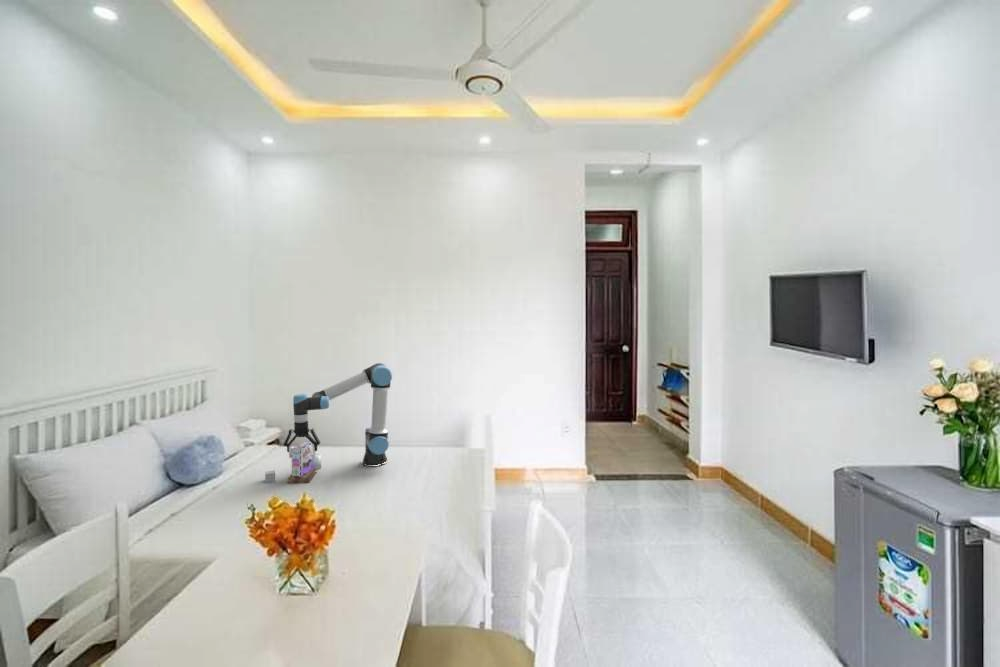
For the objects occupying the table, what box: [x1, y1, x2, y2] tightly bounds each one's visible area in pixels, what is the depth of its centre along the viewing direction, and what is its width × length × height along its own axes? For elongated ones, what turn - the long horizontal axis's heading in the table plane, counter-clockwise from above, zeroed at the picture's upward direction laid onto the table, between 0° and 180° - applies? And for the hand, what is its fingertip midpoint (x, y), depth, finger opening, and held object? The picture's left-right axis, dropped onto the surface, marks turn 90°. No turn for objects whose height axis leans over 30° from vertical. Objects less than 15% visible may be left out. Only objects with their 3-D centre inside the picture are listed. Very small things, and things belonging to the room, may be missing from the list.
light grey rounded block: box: [313, 453, 322, 471], centre depth 314 cm, size 7×7×8 cm
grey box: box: [264, 470, 276, 484], centre depth 293 cm, size 5×5×5 cm
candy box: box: [291, 441, 313, 477], centre depth 297 cm, size 14×6×16 cm, turn 171°
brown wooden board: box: [286, 468, 318, 484], centre depth 297 cm, size 12×17×3 cm
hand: (302, 456), depth 297 cm, fingers open, 13 cm apart
